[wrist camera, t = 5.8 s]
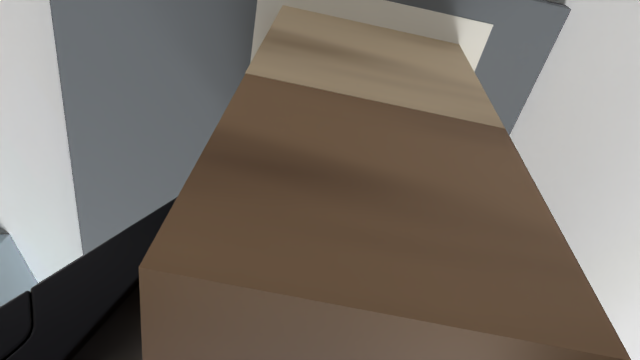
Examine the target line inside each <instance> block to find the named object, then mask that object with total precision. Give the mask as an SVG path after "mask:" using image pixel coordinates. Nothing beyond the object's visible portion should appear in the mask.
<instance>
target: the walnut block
mask: <svg viewBox="0 0 640 360" xmlns="http://www.w3.org/2000/svg"><path fill="white" fill-rule="evenodd" d="M139 289H140V314H141V338H142V360H631V359H630V357H629V355H628V353H627V351H626V349H625V348H624V346H623V344H622V342H621V340H620V338H619V337H618V335H617V333H616V331H615V329H614V327H613V326H612V324H611V322H610V320H609V318H608V316H607V315H606V313H605V311H604V309H603V307H602V305H601V304H600V302H599V300H598V298H597V296H596V294H595V293H594V291H593V289H592V287H591V285H590V283H589V282H588V280H587V278H586V276H585V274H584V272H583V271H582V269H581V267H580V265H579V263H578V261H577V259H576V258H575V256H574V254H573V252H572V250H571V248H570V247H569V245H568V243H567V241H566V239H565V237H564V236H563V234H562V232H561V230H560V228H559V226H558V225H557V223H556V221H555V219H554V217H553V215H552V214H551V212H550V210H549V208H548V206H547V204H546V203H545V201H544V199H543V197H542V195H541V193H540V192H539V190H538V188H537V186H536V184H535V182H534V181H533V179H532V177H531V175H530V173H529V171H528V170H527V168H526V166H525V164H524V162H523V160H522V159H521V157H520V155H519V153H518V151H517V149H516V148H515V146H514V144H513V142H512V140H511V138H510V137H509V135H508V133H507V131H506V129H503V128H499V127H494V126H489V125H484V124H480V123H475V122H470V121H466V120H461V119H456V118H451V117H447V116H442V115H437V114H433V113H428V112H423V111H418V110H414V109H409V108H404V107H400V106H395V105H390V104H385V103H381V102H376V101H371V100H367V99H362V98H357V97H352V96H348V95H343V94H338V93H334V92H329V91H324V90H319V89H315V88H310V87H305V86H301V85H296V84H291V83H287V82H282V81H277V80H272V79H268V78H263V77H258V76H254V75H249V74H245V75H244V77H243V79H242V81H241V83H240V85H239V86H238V88H237V90H236V92H235V94H234V95H233V97H232V99H231V101H230V103H229V104H228V106H227V108H226V110H225V112H224V114H223V115H222V117H221V119H220V121H219V123H218V124H217V126H216V128H215V130H214V132H213V133H212V135H211V137H210V139H209V141H208V142H207V144H206V146H205V148H204V150H203V152H202V153H201V155H200V157H199V159H198V161H197V162H196V164H195V166H194V168H193V170H192V171H191V173H190V175H189V177H188V179H187V180H186V182H185V184H184V186H183V188H182V190H181V191H180V193H179V195H178V197H177V199H176V200H175V202H174V204H173V206H172V208H171V209H170V211H169V213H168V215H167V217H166V218H165V220H164V222H163V224H162V226H161V228H160V229H159V231H158V233H157V235H156V237H155V238H154V240H153V242H152V244H151V246H150V247H149V249H148V251H147V253H146V255H145V256H144V258H143V260H142V262H141V264H140V266H139Z"/></svg>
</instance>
